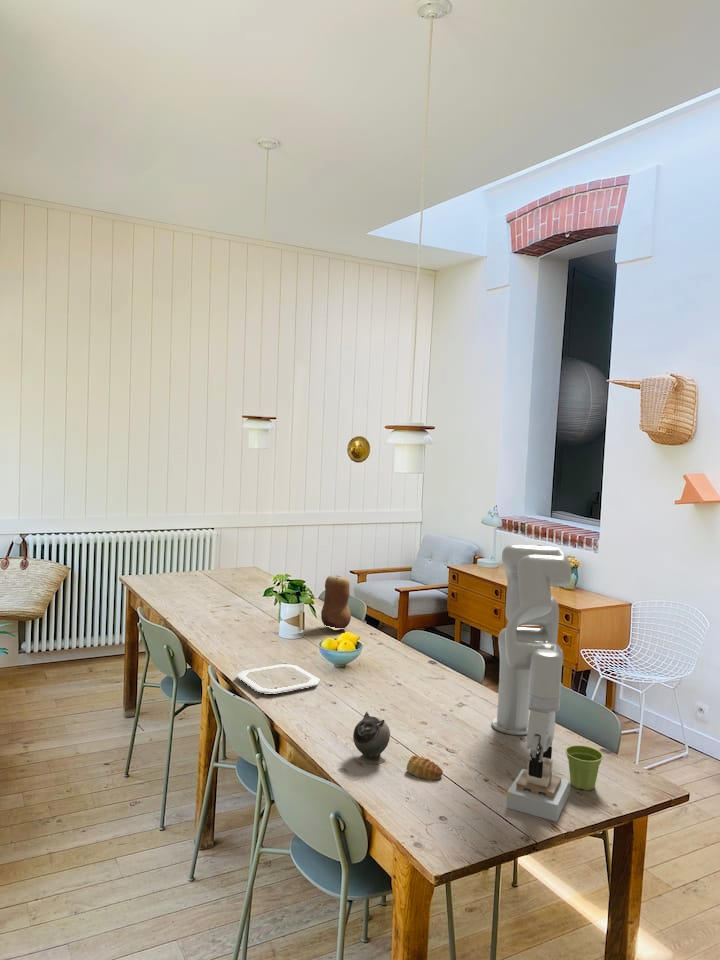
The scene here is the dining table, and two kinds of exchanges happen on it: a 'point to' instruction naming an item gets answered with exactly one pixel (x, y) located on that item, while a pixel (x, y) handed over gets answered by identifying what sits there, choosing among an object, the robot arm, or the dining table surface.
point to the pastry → (423, 768)
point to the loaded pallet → (539, 788)
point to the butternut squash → (336, 602)
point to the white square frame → (312, 682)
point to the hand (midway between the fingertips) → (540, 768)
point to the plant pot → (583, 766)
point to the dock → (538, 800)
